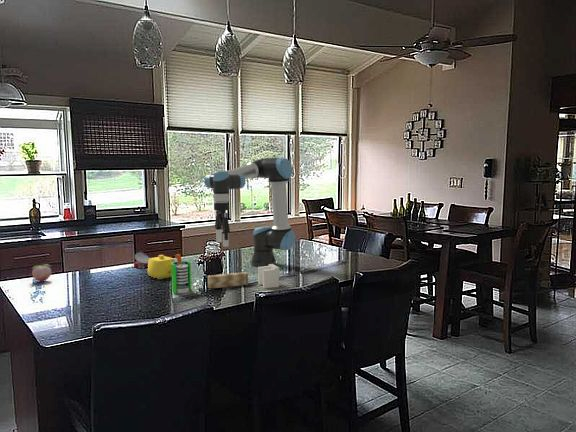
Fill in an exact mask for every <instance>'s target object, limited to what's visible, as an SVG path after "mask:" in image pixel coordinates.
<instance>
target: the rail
mask: <svg viewBox="0 0 576 432" xmlns="http://www.w3.org/2000/svg"><path fill="white" fill-rule="evenodd" d="M248 273H249V272H246V271H241V272H232V273H231V272H230V273H222V274H211V275H207V288H208V289H218V288H228V287H237V286H238V287H239V286H244V285H245V286H246V285H248V284H249V276H248Z"/></svg>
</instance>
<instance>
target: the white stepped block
mask: <svg viewBox="0 0 576 432" xmlns="http://www.w3.org/2000/svg"><path fill="white" fill-rule="evenodd" d="M257 279H258V280H257V284H258V285H259V286H262V288H263V289H269V288H270V289H271V288H278V287H280V267H279V266H277V265H274V264H269V266H263V267H257Z"/></svg>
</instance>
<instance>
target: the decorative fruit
mask: <svg viewBox="0 0 576 432" xmlns="http://www.w3.org/2000/svg"><path fill="white" fill-rule="evenodd" d="M31 270H32V272H31V273H32V277H33V278H34V280H35V281H39V282H45V281H46V280H48V279H49V278H50V276H51V275H52V269H51V265H50V264H47V263H45V264H38V265H34V266H33V267H32V268H31Z"/></svg>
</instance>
